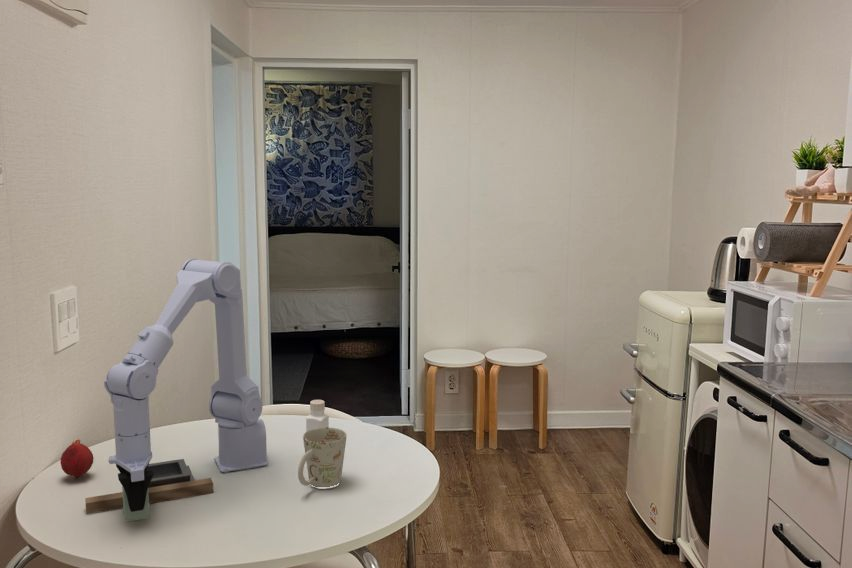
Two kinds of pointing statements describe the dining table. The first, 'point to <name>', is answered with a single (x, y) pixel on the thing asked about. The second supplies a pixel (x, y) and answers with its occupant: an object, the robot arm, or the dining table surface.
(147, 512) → the stop block
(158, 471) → the keeper
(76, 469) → the onion
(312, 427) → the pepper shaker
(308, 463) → the mug
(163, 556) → the dining table surface
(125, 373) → the robot arm
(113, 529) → the dining table surface
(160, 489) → the door edge rail
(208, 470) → the dining table surface
